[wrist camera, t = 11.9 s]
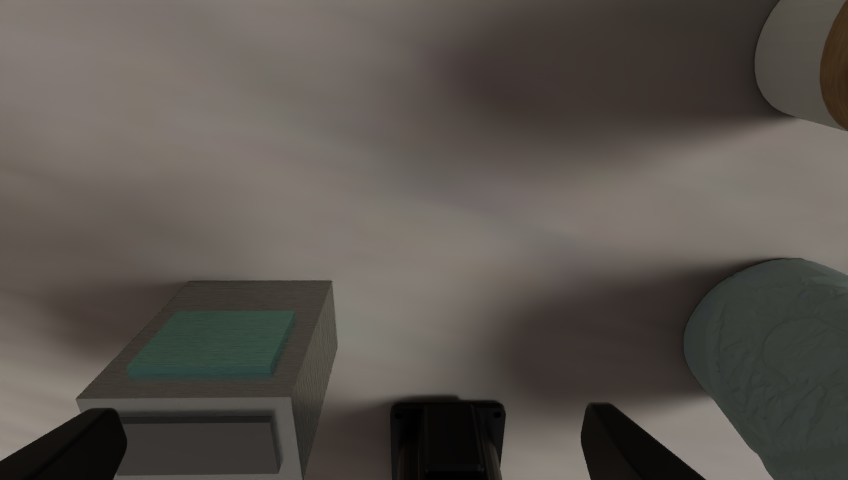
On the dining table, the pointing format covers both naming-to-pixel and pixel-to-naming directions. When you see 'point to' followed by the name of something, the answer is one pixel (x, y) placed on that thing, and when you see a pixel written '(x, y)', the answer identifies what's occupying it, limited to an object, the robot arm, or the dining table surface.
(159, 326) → the napkin dispenser
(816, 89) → the coffee cup
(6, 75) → the dining table surface
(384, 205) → the dining table surface
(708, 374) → the drinking glass
